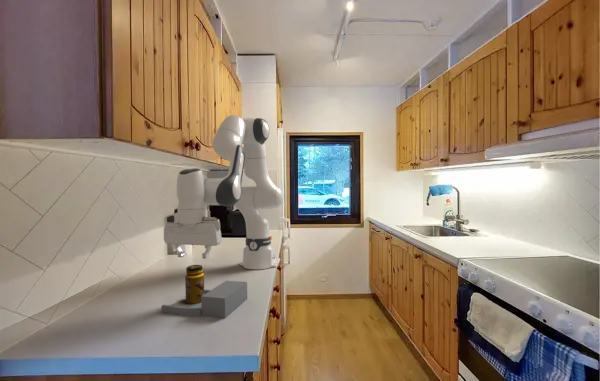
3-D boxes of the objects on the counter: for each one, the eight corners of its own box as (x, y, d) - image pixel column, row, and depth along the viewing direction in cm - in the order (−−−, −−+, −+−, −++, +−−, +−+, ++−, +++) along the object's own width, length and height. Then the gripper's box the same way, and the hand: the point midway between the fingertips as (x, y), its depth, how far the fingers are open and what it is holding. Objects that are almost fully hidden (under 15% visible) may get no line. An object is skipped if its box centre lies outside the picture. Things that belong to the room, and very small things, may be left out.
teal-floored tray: (192, 293, 116) (192, 277, 116) (247, 298, 110) (247, 281, 110) (161, 312, 99) (161, 293, 99) (224, 318, 94) (223, 299, 94)
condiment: (208, 302, 106) (207, 266, 105) (182, 308, 101) (181, 271, 101) (201, 296, 112) (201, 262, 111) (176, 301, 107) (175, 266, 107)
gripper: (224, 216, 106) (225, 256, 106) (172, 215, 111) (173, 253, 112) (214, 218, 100) (216, 261, 100) (159, 217, 105) (161, 258, 106)
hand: (193, 257), depth 106 cm, fingers open, 8 cm apart
